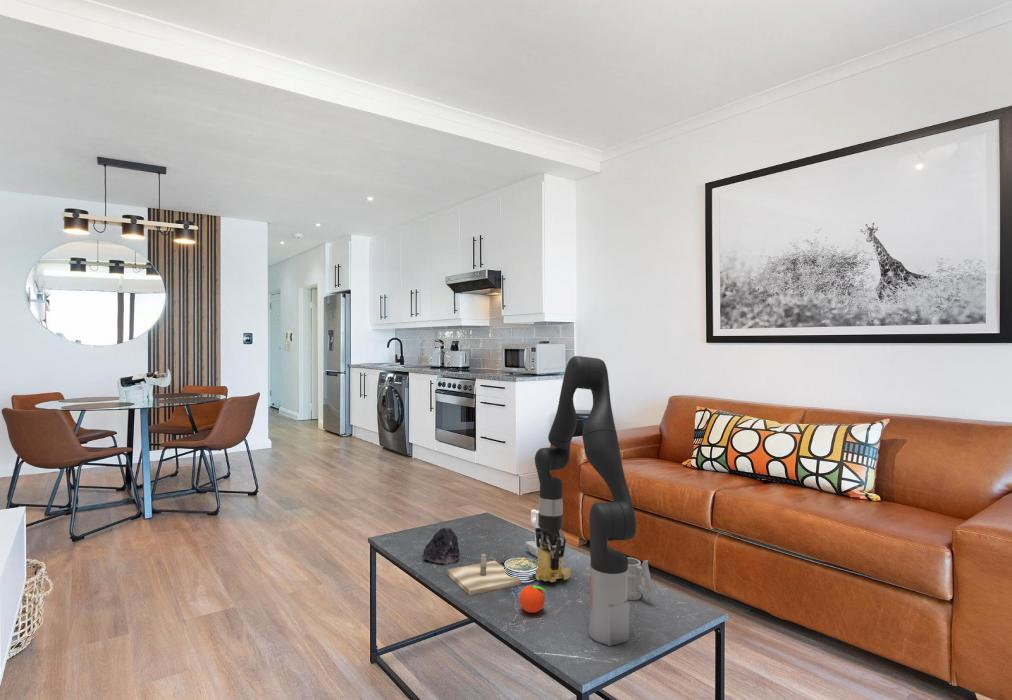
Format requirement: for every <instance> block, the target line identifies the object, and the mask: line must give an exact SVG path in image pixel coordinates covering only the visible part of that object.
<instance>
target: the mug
mask: <svg viewBox="0 0 1012 700" xmlns="http://www.w3.org/2000/svg"><path fill="white" fill-rule="evenodd" d="M626 557H627V556H626ZM627 558H628V581H627V601H636V600H639V599H641V597H642V596H643V597H642V598H644V599H645V600H648V599H649V598H650V596H651V595H652V588H653V586H652V585H653V582H652V578H651V573H650V569H649V564H648V563H649V560H647V559H646V560H643V562H642V563H641V561H640V560H639V559H637V558H634V557H627ZM642 576H643V579H644V581H645V583H644V586H643V585H642Z"/></svg>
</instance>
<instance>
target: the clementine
mask: <svg viewBox="0 0 1012 700" xmlns="http://www.w3.org/2000/svg"><path fill="white" fill-rule="evenodd" d="M544 592H545V593H546V594H547V595H549V594H548V593H549V592H548V591H547V590H546V589H544V588H543V587H541V586H538V585H535V584H529V585H527V586H524V588H523V589H521V591H520V594H519V598H518V599H519V604H520V607H521V608H522V609H523V610H524V611H525V612H527V613H531V614H534V613H535V614H536V613H537V612H539V611H541V609H543V608H544V605H545V601H546V597H545V593H544Z"/></svg>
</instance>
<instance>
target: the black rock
mask: <svg viewBox="0 0 1012 700" xmlns="http://www.w3.org/2000/svg"><path fill="white" fill-rule="evenodd" d="M422 555H423V556H422V559H423V558H424V559H423V561H426V560H428V561H427V562H432V563H435V564H446V565H449V564H454V563H456V562H457V560H458V559H459V558H460V548H459V542H458V537H457V534H456V532H455V531H454V530H453V529H452V528H449V527H448V528H446V527H443V528H440V529H439V530H438V531H437V532H436V533H434V535H433V536H432V538H431V540H430V541H428V543H427V544H426V545H425V547H424V549H423V553H422ZM448 563H449V564H448Z"/></svg>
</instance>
